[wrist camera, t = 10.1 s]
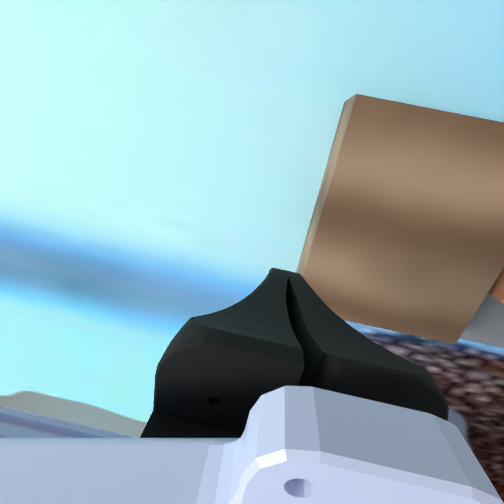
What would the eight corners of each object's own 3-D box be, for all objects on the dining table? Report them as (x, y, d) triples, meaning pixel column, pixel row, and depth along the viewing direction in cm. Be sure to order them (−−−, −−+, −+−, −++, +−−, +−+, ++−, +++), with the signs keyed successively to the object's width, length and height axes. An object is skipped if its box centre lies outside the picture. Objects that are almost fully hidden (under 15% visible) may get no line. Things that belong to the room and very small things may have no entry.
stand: (433, 319, 22) (455, 344, 19) (291, 288, 22) (292, 308, 20) (534, 139, 17) (584, 138, 14) (344, 101, 17) (356, 93, 14)
